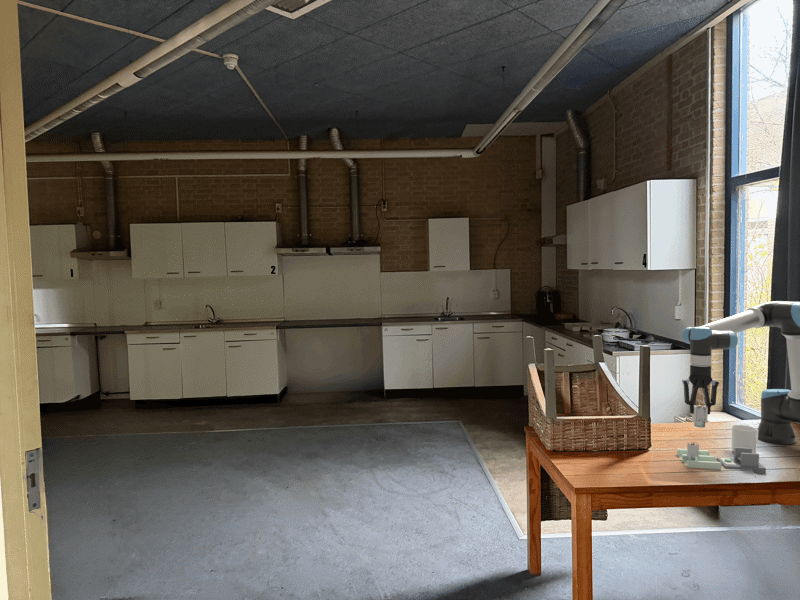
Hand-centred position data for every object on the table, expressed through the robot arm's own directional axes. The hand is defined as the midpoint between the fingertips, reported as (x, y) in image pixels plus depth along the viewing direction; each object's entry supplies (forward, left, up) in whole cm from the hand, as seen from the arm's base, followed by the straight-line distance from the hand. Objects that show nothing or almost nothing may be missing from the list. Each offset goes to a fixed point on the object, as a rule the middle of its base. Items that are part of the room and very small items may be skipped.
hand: (699, 421), depth 221 cm
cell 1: (+4, +7, -16) cm, 18 cm away
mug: (-23, -15, -17) cm, 32 cm away
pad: (-16, +4, -14) cm, 21 cm away
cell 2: (0, 0, -2) cm, 2 cm away
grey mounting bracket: (-14, +4, -17) cm, 22 cm away
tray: (+1, +3, -17) cm, 17 cm away
